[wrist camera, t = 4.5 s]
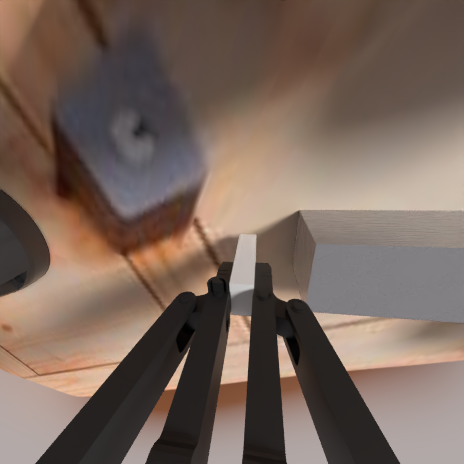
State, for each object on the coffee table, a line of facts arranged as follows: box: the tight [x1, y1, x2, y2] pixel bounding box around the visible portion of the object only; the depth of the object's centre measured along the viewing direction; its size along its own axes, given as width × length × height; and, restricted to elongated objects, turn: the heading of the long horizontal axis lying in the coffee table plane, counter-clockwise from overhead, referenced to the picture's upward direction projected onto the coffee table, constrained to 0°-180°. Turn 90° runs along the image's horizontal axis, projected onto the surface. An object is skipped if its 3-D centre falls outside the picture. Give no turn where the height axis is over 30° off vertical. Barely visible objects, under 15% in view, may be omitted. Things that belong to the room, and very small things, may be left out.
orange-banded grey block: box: [293, 210, 464, 323], centre depth 15 cm, size 22×6×6 cm, turn 92°
